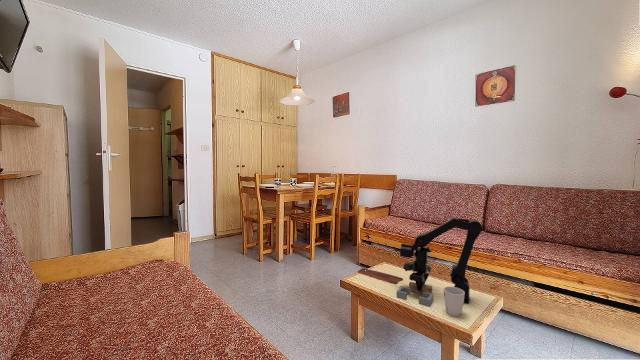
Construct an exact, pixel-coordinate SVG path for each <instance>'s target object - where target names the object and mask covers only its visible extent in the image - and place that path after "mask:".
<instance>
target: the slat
mask: <svg viewBox="0 0 640 360" xmlns="http://www.w3.org/2000/svg"><path fill="white" fill-rule="evenodd" d="M408 288H411V292H416V293H421V294H423V292H427V293H431V294H433V285H430V284H426V283H425V284H423V286H422V288H421V291H418V289H417V285H416V282H415V281H414V282H413V281H409V283H408Z"/></svg>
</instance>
